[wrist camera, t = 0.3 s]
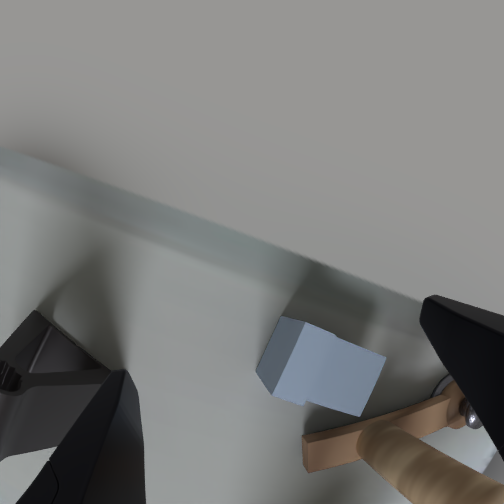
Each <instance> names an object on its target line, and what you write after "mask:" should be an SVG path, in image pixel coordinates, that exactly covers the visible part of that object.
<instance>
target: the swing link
mask: <svg viewBox="0 0 504 504" xmlns="http://www.w3.org/2000/svg"><path fill="white" fill-rule="evenodd" d="M464 398H465V396H464V394H463V393H462V391H461V390H460V388H459V387H458V385H457V384H456V382H455V381H454V380H453V381H451V382H450V383H449V384H448V385H447V386H446V387H445V389H444V390H443V392H442V393H441V395H438V396H436V397H433V398H431V399H428V400H426V401H423V402H420V403H418V404H415V405H412V406H409V407H406V408H403V409H400V410H397V411H394V412H391V413H388V414H385V415H382V416H379V417H375V418H372V419H368V420H365V421H361V422H358V423H354V424H350V425H346V426H342V427H338V428H334V429H330V430H326V431H321V432H317V433H312V434H307V435H302V452H303V465H304V467H305V468H306V470H307V471H308V473H311V472H315V471H319V470H324V469H328V468H332V467H335V466H339V465H343V464H346V463H350V462H353V461H357V460H360V459H363V460H364V461H365V462H366V463H368V464H369V465H370V466H371V467H372V468H373V469H374V470H375V471H376V472H377V473H378V474H380V475H381V476H382V477H383V478H384V479H385V480H386V481H387V482H389V483H390V484H391V485H392V486H393V487H394V488H395V489H396V490H398V491H399V492H400V493H401V494H402V495H403V496H404V497H406V498H407V499H408V500H409V501H410V502H411V503H413V504H503V503H504V485H503V484H501V483H498V482H497V481H495V480H493V479H491V478H489V477H487V476H485V475H483V474H481V473H479V472H477V471H475V470H473V469H471V468H470V467H468V466H466V465H464V464H462V463H460V462H458V461H457V460H455V459H453V458H451V457H449V456H447V455H446V454H444V453H442V452H440V451H438V450H437V449H435V448H433V447H431V446H430V445H428V444H426V443H424V442H423V441H421V440H419V438H421V437H423V436H426V435H428V434H430V433H433V432H435V431H437V430H439V429H442V428H444V427H446V426H448V427H450V428H453V429H458V428H461V427H463V426H465V425H466V423H465V417H464V416H461V415H460V413H459V407H460V404H461V402H462V400H463V399H464Z"/></svg>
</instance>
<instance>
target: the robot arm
mask: <svg viewBox="0 0 504 504" xmlns="http://www.w3.org/2000/svg"><path fill="white" fill-rule="evenodd" d="M420 325H421V327H422V329H423V330H424V332H425V334H426V335H427V337H428V339H429V341H430V342H431V344H432V346H433V348H434V349H435V351H436V353H437V355H438V357H439V358H440V360H441V361H442V363H443V365H444V366H445V367H446V369H447V370H448V372H449V373H450V375H451V376H452V378H453V379H454V381H455V382H456V384H457V385H458V387H459V388H460V390H461V391H462V393H463V394H464V396H465V397H466V399H467V400H468V402H469V404H470V405H471V407H472V408H473V410H474V411H475V413H476V415H477V416H478V418H479V419H480V421H481V423H482V424H483V426H484V428H485V429H486V431H487V433H488V434H489V436H490V438H491V439H492V441H493V443H494V445H495V446H496V448H497V450H499V454H500V455H501V457H502V459H503V461H504V316H503V315H500V314H497V313H493V312H490V311H487V310H484V309H481V308H477V307H474V306H471V305H468V304H464V303H461V302H458V301H455V300H452V299H448V298H445V297H442V296H438V295H432V296H429V297H427V298H425V299H424V301H423V305H422V310H421V314H420ZM16 504H146V495H145V469H144V441H143V432H142V424H141V415H140V405H139V396H138V391H137V389H136V387H135V385H134V382H133V380H132V378H131V376H130V374H129V372H128V371H127V370H126V369H121V370H114V371H112V372H111V373H110V374H109V376H108V377H107V378H106V380H105V381H104V382H103V384H102V385H101V386H100V388H99V389H98V390H97V392H96V393H95V395H94V396H93V397H92V399H91V400H90V401H89V403H88V404H87V406H86V407H85V408H84V410H83V411H82V413H81V414H80V415H79V417H78V418H77V420H76V421H75V422H74V424H73V425H72V427H71V428H70V429H69V431H68V432H67V434H66V435H65V437H64V438H63V439H62V441H61V442H60V444H59V445H58V447H57V448H56V449H55V451H54V452H53V454H52V455H51V457H50V458H49V461H47V462H46V464H45V465H44V467H43V468H42V470H41V471H40V473H39V474H38V475H37V477H36V478H35V480H34V481H33V482H32V484H31V485H30V486H29V488H28V489H27V490H26V491H25V493H24V494H23V495H22V496H21V498H20V499H19V500H18V501H17V502H16Z"/></svg>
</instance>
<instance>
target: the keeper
mask: <svg viewBox="0 0 504 504" xmlns="http://www.w3.org/2000/svg"><path fill="white" fill-rule="evenodd" d="M386 358H387V357H384V356H382V355H379V354H377V353H374V352H372V351H369V350H367V349H364V348H362V347H360V346H357V345H355V344H352V343H350V342H348V341H345V340H343V339H340V338H338V337H336V335H335V334H333V333H330V332H328V331H326V330H323V329H321V328H319V327H316V326H314V325H312V324H309V323H307V322H304V321H300V320H296V319H292V318H288V317H284V316H281V317H280V319H279V321H278V323H277V326H276V328H275V330H274V332H273V334H272V337H271V339H270V341H269V343H268V345H267V348H266V350H265V352H264V354H263V356H262V358H261V361H260V363H259V365H258V367H257V369H256V371H255V372H256V373H257V375H258V376H259V378H260V379H261V380H262V382H263V383H264V385H265V386H266V388H267V389H268V391H269V392H270V394H271V395H272V396H275V397H278V398H280V399H283V400H286V401H289V402H292V403H295V404H298V405H301V406H304V404H305V402H306V401H309V402H312V403H315V404H318V405H321V406H324V407H328V408H331V409H334V410H337V411H341V412H344V413H347V414H351V415H354V416H358V417H360V415H361V413H362V411H363V409H364V407H365V405H366V403H367V401H368V399H369V397H370V395H371V393H372V390H373V388H374V386H375V384H376V382H377V379H378V377H379V375H380V373H381V370H382V368H383V366H384V363H385V361H386Z"/></svg>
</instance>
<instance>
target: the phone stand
mask: <svg viewBox="0 0 504 504" xmlns="http://www.w3.org/2000/svg"><path fill="white" fill-rule="evenodd" d="M111 372H112V371H111V370H109V369H108V368H107V367H105V366H104V365H103V364H101V363H100V362H99V361H97V360H96V359H94V358H93V357H92V356H91V355H89V354H88V353H87V352H85V351H84V350H83V349H81V348H80V347H78V346H76V344H75V343H74V342H73V341H71V340H70V339H69V338H68V337H67V336H65V335H64V334H63V333H62V332H61V331H59V330H58V329H57V328H56V327H55V326H54V325H52V324H51V323H50V322H49V321H48V320H47V319H46V318H44V317H43V316H42V315H41V314H40V313H39V312H37V311H35V310H33V312H32V313H31V314H30V315H29V316H28V317H27V318H26V319H25V320H24V321H23V322H22V323H21V325H20V326H19V327H18V328H17V329H16V330H15V331H14V332H13V334H12V335H11V336H10V337H9V338H8V339H7V340H6V342H5V343H4V344H3V345H2V346H1V347H0V461H2V460H3V459H4V458H6V457H8V456H12V455H18V454H23V453H28V452H33V451H38V450H43V449H47V448H52V447H56V446H58V445H59V444H60V442H61V441H62V439H63V438H64V437H65V435H66V434H67V432H68V431H69V429H70V428H71V427H72V425H73V424H74V422H75V421H76V420H77V418H78V417H79V415H80V414H81V413H82V411H83V410H84V408H85V407H86V406H87V404H88V403H89V401H90V400H91V399H92V397H93V396H94V395H95V393H96V392H97V390H98V389H99V388H100V386H101V385H102V384H103V382H104V381H105V380H106V378H107V377H108V376H109V374H110V373H111Z"/></svg>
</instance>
